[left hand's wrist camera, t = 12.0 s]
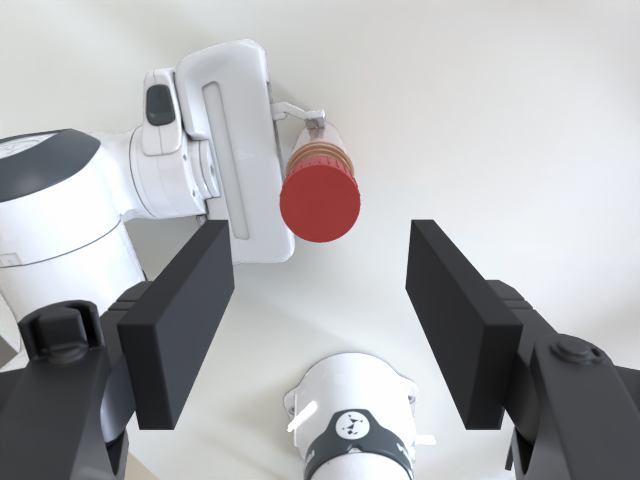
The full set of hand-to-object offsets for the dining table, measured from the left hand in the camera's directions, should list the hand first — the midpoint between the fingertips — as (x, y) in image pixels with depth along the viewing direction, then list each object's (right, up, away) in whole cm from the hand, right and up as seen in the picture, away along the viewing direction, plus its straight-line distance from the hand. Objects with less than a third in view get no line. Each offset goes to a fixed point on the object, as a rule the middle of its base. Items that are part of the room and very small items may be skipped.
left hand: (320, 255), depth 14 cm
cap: (0, +3, +9) cm, 9 cm away
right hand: (+1, +9, +22) cm, 24 cm away
